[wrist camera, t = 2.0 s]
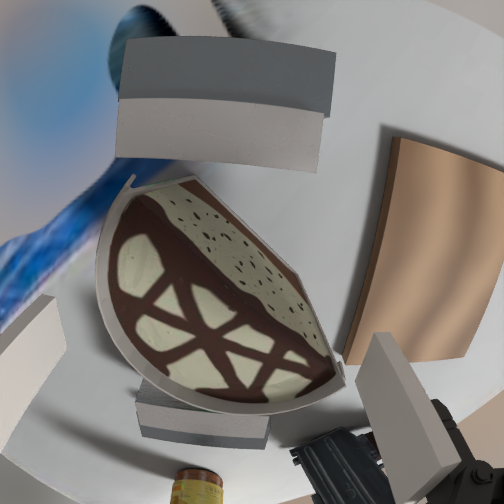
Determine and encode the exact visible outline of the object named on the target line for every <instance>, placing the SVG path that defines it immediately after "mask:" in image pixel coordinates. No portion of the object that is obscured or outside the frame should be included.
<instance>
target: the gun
mask: <svg viewBox="0 0 504 504" xmlns="http://www.w3.org/2000/svg"><path fill="white" fill-rule="evenodd" d="M289 451H290V453H291V455H292V457H295V456H297V457H296V458H294V459H293V463H294V465H295V466H296V465H299V464H301V466H302V468H303V470H304V472H305V473H306V475H307V477H308V479H309V481H310V483H311V484H312V486H313V488H314V490H315V492H316V494H314V495H312V496H311V497H312V500H313V502H314V504H396V503H395V499H394V496H393V493H392V490H391V486H390V483H389V480H388V477H387V476H386V475H385V474H384V472H383V471H382V470H381V469H382V468H384V464H383V463H382V464H379V465H378V464H377V461H379V460H380V459H382V458H381V455H380V452H379V449H378V446H377V443H376V440H375V437H374V434H373V431H372V432H369V433H366V434H361V435H359V436H357V437H356V435H354V434H352V433H350V432H349V431H347V430H345V429H343V428H341V427H340V428H338V429H336V430H334V431H332V432H330V433H328V434H326V435H323V436H321V437H319V438H317V439H315V440H312V441H310V442H308V443H306V444H303V445H301V446H299V447H296V448H294V449H291V450H289Z"/></svg>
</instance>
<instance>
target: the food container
mask: <svg viewBox="0 0 504 504" xmlns="http://www.w3.org/2000/svg"><path fill="white" fill-rule="evenodd" d="M135 178H136V175H134V174H132V176H131V177H130V178H129V180H128V181H127V182H126V184H125V185H124V186H123V188H122V189H121V191H120V192H119V194H118V196H117V197H116V199H115V200H114V202H113V203H112V205H111V207H110V209H109V212H108V214H107V216H106V219H105V221H104V223H103V226H102V229H101V233H100V237H99V242H98V246H97V252H96V262H95V287H96V294H97V301H98V306H99V309H100V312H101V315H102V318H103V321H104V324H105V326H106V328H107V330H108V332H109V334H110V336H111V338H112V340H113V342H114V344H115V345H116V347H117V348H118V349H119V351H120V352H121V354H122V355H123V356H124V358H125V359H126V360H127V361H128V362H129V364H130V365H131V366H132V367H133V368H134V369H135V370H136V371H137V372H138V373H139V374H140V375H141V376H143V377H144V378H145V379H146V380H148V381H149V382H150V383H151V384H153V385H154V386H155V387H157V388H158V389H160V390H162V391H163V392H165V393H167V394H168V395H170V396H172V397H174V398H176V399H178V400H180V401H182V402H185V403H187V404H189V405H192V406H195V407H198V408H201V409H205V410H208V411H212V412H217V413H223V414H229V415H243V416H259V415H273V414H278V413H284V412H289V411H293V410H297V409H300V408H303V407H306V406H310V405H312V404H315V403H317V402H319V401H321V400H324V399H326V398H328V397H330V396H332V395H333V394H335V393H337V392H339V391H340V390H342V389H343V388H345V387H346V385H345V382H344V380H346V379H345V374H344V370H343V366H342V363H341V362H340V361H339V362H336V360H335V357H334V355H333V353H332V350H331V348H330V346H329V343H328V341H327V339H326V336H325V334H324V332H323V330H322V327H321V325H320V323H319V320H318V318H317V316H316V314H315V311H314V309H313V307H312V304H311V302H310V300H309V298H308V295H307V293H306V291H305V289H304V287H303V284H302V282H301V280H300V278H299V275H298V274H297V273H296V272H295V271H294V270H293V269H292V268H291V267H290V266H289V265H288V264H287V263H286V262H285V261H284V260H283V259H282V258H281V257H280V256H279V255H278V254H277V253H276V252H275V251H274V250H273V249H272V248H271V247H270V246H269V245H268V244H267V243H266V242H265V241H263V240H262V239H261V238H260V237H259V236H258V235H257V234H256V233H255V232H254V231H253V230H252V229H251V228H250V227H249V226H248V225H247V224H246V223H245V222H244V221H243V220H242V219H241V218H240V217H239V216H238V215H237V214H236V213H235V212H234V211H233V210H231V209H230V208H229V207H228V206H227V205H226V204H225V203H224V202H223V201H222V200H221V199H220V198H219V197H218V196H217V195H216V194H215V193H214V192H213V191H212V190H211V189H210V188H209V187H208V186H206V185H205V184H204V183H203V182H202V181H201V180H200V179H199V178H198V177H197V176H196V175H192V176H187V177H182V178H177V179H173V180H168V181H163V182H159V183H154V184H150V185H146V186H142V187H137V188H133V189H132V188H131V187H130V185H131V184H132V182H133V181H134V179H135Z"/></svg>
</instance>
